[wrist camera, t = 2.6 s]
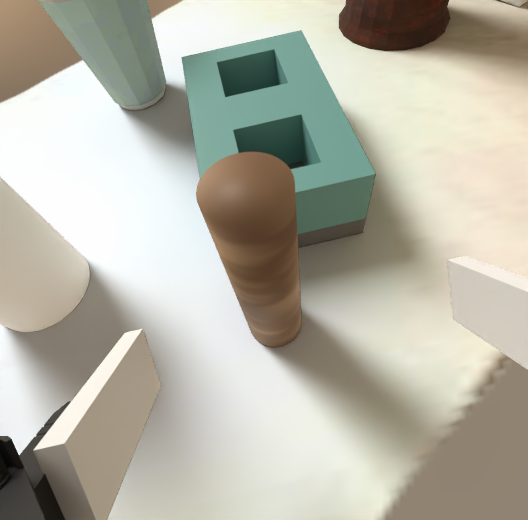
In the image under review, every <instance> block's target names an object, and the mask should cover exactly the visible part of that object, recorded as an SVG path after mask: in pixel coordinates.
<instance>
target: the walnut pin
mask: <svg viewBox="0 0 528 520" xmlns="http://www.w3.org/2000/svg"><path fill="white" fill-rule="evenodd" d="M196 196H197V202H198V205H199V207H200V210H201V212H202V214H203V217H204V219H205V222H206V224H207V226H208V229H209V231H210V234H211V236H212V239H213V241H214V243H215V246H216V248H217V251H218V253H219V255H220V258H221V260H222V263H223V265H224V267H225V270H226V272H227V275H228V277H229V280H230V282H231V284H232V287H233V289H234V292H235V294H236V296H237V299H238V301H239V304H240V306H241V309H242V311H243V313H244V316H245V318H246V321H247V323H248V325H249V328H250V330H251V333H252V335H253V336H254V338H255V339H256V340H257V341H258V342H260V343H261V344H263V345H266V346H269V347H281V346H284V345H287V344H289V343H290V342H292V341H293V340H294V339H295V338H296V337H297V335H298V334H299V332H300V329H301V324H302V319H301V299H300V278H299V257H298V237H297V216H296V196H295V180H294V176H293V173H292V171H291V170H290V168H289V167H288V166H287V165H286V163H284V162H283V161H282V160H280V159H279V158H277V157H275V156H273V155H270V154H267V153H262V152H242V153H236V154H233V155H230V156H227V157H225V158H223V159H221V160H219V161H217V162H216V163H214V164H213V165H212V166H211V167H209V168H208V169H207V170H206V172H205V173H204V174H203V176H202V177H201V179H200V181H199V183H198V186H197V192H196Z"/></svg>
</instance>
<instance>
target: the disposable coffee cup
mask: <svg viewBox="0 0 528 520" xmlns="http://www.w3.org/2000/svg"><path fill="white" fill-rule="evenodd" d="M38 1H39V2H40V4H41V5H42V6H43V8H44V9H45V10H46V12H47V13H48V14H49V15H50V17H51V18H52V19H53V21H54V22H55V23H56V25H57V26H58V27H59V29H60V30H61V31H62V33H63V34H64V35H65V37H66V38H67V39H68V41H69V42H70V43H71V45H72V46H73V47H74V48H75V50H76V51H77V52H78V54H79V55H80V56H81V58H82V59H83V60H84V62H85V63H86V64H87V66H88V67H89V68H90V70H91V71H92V72H93V73H94V75H95V76H96V77H97V79H98V80H99V81H100V83H101V84H102V85H103V87H104V88H105V89H106V91H107V92H108V93H109V95H110V96H111V97H112V99H113V100H114V101H115V102H116V103H118V104H119V105H120V106H121V107H122V108H125V109H128V110H140V109H145V108H147V107H149V106H151V105H154V104H156V103H157V102H158V101H159V100H160V99H161V98H162V97H163V96H164V92H165V89H166V86H165V83H166V79H165V75H164V71H163V66H162V62H161V58H160V54H159V49H158V45H157V41H156V37H155V33H154V28H153V24H152V20H151V16H150V11H149V8H148V3H147V0H38Z"/></svg>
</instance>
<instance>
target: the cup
mask: <svg viewBox="0 0 528 520" xmlns="http://www.w3.org/2000/svg"><path fill="white" fill-rule="evenodd" d="M89 279H90V269H89V265H88V262H87V261H86V259H85V258H84V256H83V255H82V254H81V253H80V252H79V251H78V250H76V249H75V248H74V247H73V246H72V245H71V244H70V243H69V242H68V241H67V240H66V239H65V238H64V237H63V236H62V235H61V234H60V233H59V232H58V231H57V230H55V229H54V228H53V227H52V226H51V225H50V224H49V223H48V222H47V221H46V220H45V219H44V218H43V217H42V216H41V215H40V214H39V213H38V212H37V211H36V210H35V209H33V208H32V207H31V206H30V205H29V204H28V203H27V202H26V201H25V200H24V199H23V198H22V197H21V196H20V195H19V194H18V193H17V192H16V191H15V190H14V189H12V188H11V187H10V186H9V185H8V184H7V183H6V182H5V181H4V180H3V179H2V178H1V177H0V324H1V325H3V326H5V327H8V328H10V329H12V330H15V331H19V332H34V331H39V330H42V329H45V328H48V327H50V326H52V325H54V324H56V323H58V322H59V321H61V320H62V319H63V318H65V317H66V316H67V315H68V314H70V313H71V312H72V311H73V310H74V309H75V307H76V306H77V305H78V304H79V302H80V301H81V299H82V298H83V296H84V294H85V292H86V290H87V287H88V284H89Z"/></svg>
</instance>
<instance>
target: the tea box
mask: <svg viewBox="0 0 528 520" xmlns="http://www.w3.org/2000/svg"><path fill="white" fill-rule="evenodd" d="M501 1H503V2H506V3H509V4H511V5H514V6H517V7H520V6H521V5H523V4H524V3H526V2H527V1H528V0H501Z"/></svg>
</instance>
